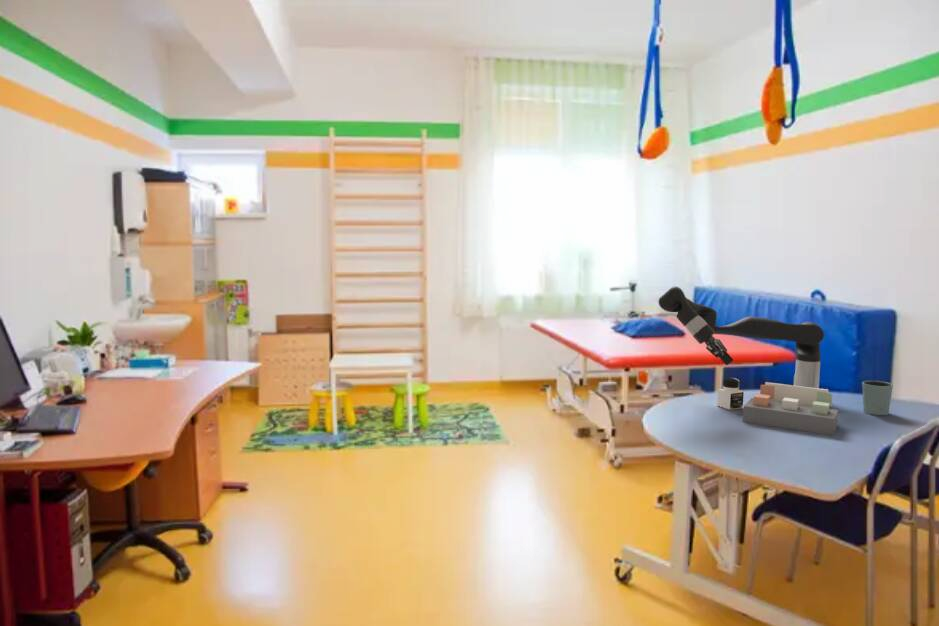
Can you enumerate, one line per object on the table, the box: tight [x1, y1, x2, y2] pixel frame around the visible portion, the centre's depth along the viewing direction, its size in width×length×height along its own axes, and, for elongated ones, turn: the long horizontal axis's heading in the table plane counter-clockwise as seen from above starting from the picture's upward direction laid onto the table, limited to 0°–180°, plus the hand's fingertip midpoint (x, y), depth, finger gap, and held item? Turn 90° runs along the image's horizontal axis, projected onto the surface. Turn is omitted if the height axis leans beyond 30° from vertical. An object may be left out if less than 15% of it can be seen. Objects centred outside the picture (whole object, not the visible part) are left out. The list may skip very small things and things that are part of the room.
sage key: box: [812, 401, 830, 415], centre depth 237 cm, size 5×5×4 cm
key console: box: [742, 381, 839, 436], centre depth 244 cm, size 30×19×12 cm, turn 55°
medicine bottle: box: [716, 377, 745, 411], centre depth 265 cm, size 7×7×12 cm
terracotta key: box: [753, 393, 770, 407], centre depth 248 cm, size 5×5×4 cm
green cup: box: [861, 380, 893, 416], centre depth 256 cm, size 10×10×12 cm
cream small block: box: [782, 398, 799, 411], centre depth 242 cm, size 5×5×4 cm
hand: (730, 362), depth 253 cm, fingers open, 3 cm apart
